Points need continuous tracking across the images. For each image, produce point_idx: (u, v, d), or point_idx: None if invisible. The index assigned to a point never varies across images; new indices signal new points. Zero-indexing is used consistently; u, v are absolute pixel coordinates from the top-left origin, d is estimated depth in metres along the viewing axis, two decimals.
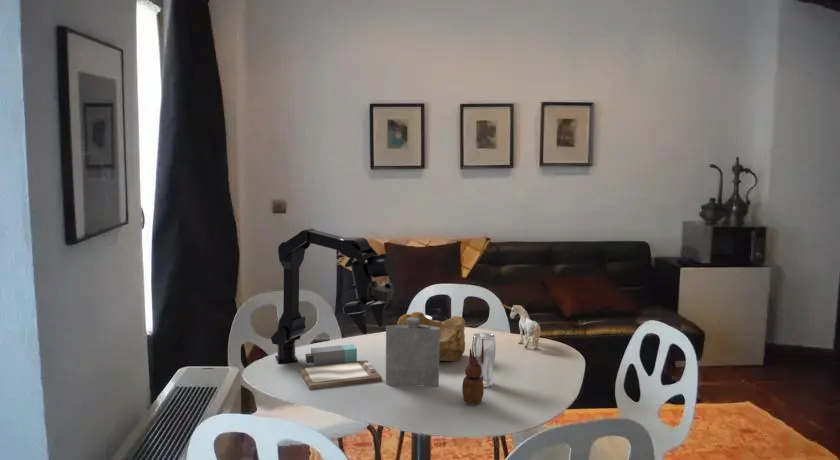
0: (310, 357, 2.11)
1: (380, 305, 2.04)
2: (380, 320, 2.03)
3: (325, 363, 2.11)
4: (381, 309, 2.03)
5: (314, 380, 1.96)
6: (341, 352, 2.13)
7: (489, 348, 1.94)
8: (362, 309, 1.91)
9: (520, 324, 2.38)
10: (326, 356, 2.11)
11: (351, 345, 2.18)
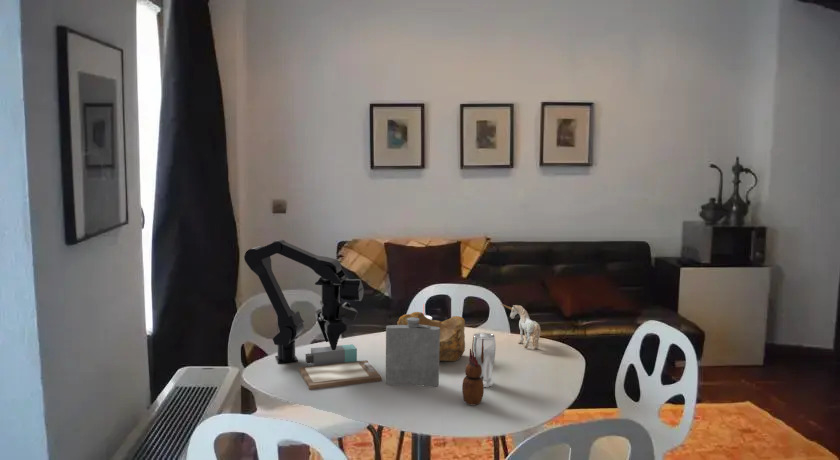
0: (310, 357, 2.11)
1: None
2: None
3: (325, 363, 2.11)
4: None
5: (314, 380, 1.96)
6: (341, 352, 2.13)
7: (489, 348, 1.94)
8: None
9: (520, 324, 2.38)
10: (326, 356, 2.11)
11: (351, 345, 2.18)
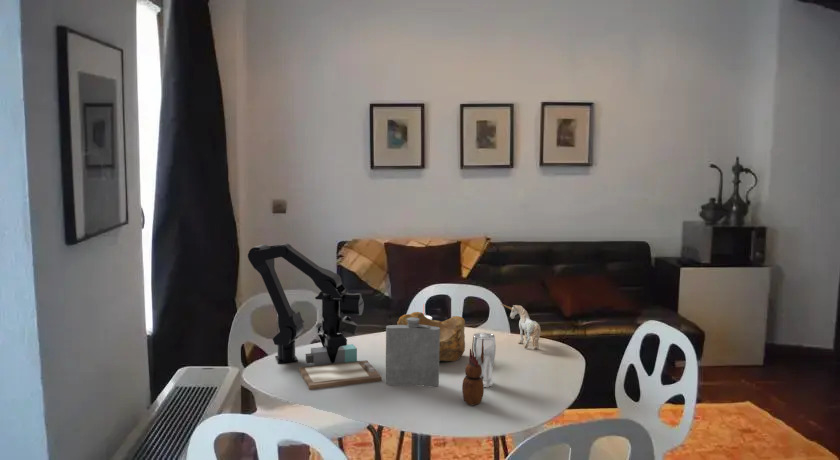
0: (310, 357, 2.11)
1: None
2: None
3: (325, 363, 2.11)
4: None
5: (314, 380, 1.96)
6: (341, 352, 2.13)
7: (489, 348, 1.94)
8: None
9: (520, 324, 2.38)
10: (326, 356, 2.11)
11: (351, 345, 2.18)
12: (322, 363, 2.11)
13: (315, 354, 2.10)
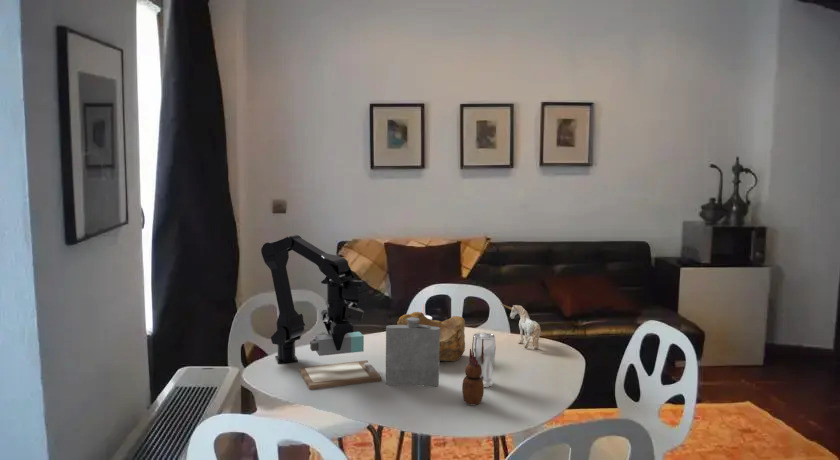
0: (315, 344, 2.03)
1: None
2: None
3: (331, 351, 2.03)
4: None
5: (314, 380, 1.96)
6: (347, 339, 2.05)
7: (489, 348, 1.94)
8: None
9: (520, 324, 2.38)
10: (332, 344, 2.03)
11: (357, 332, 2.10)
12: (327, 351, 2.03)
13: (320, 341, 2.02)
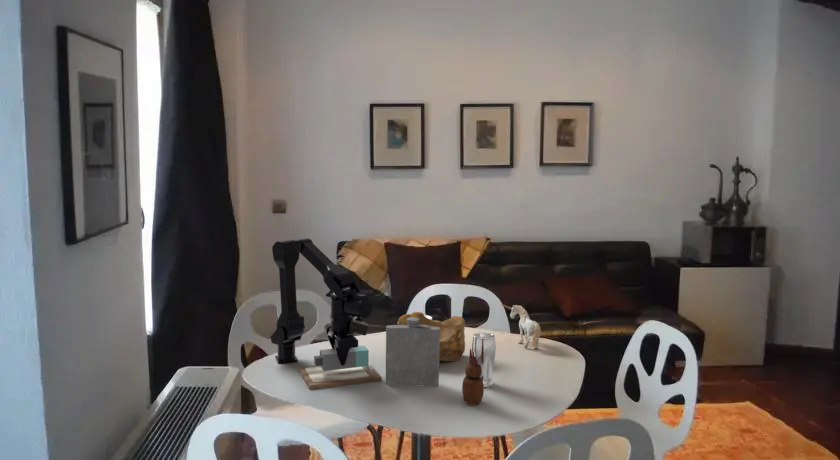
0: (319, 359, 1.98)
1: None
2: None
3: (335, 366, 1.99)
4: None
5: (314, 380, 1.96)
6: (352, 354, 2.00)
7: (489, 348, 1.94)
8: None
9: (520, 324, 2.38)
10: (336, 358, 1.99)
11: (362, 346, 2.05)
12: (332, 366, 1.99)
13: (324, 356, 1.97)
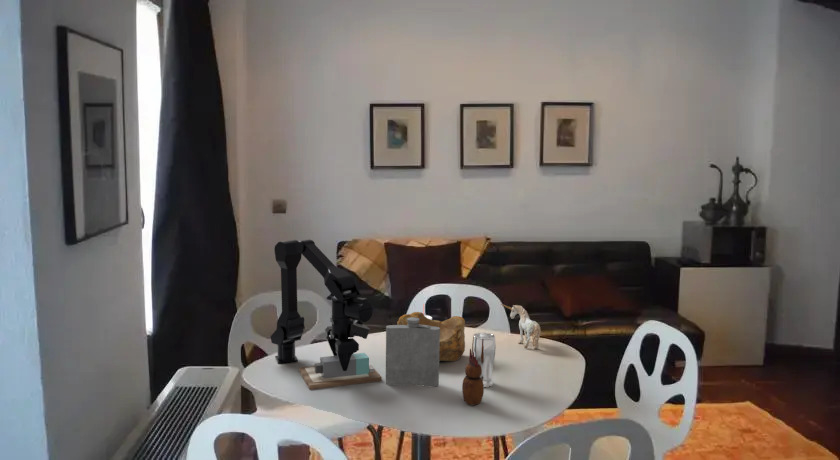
0: (319, 367, 1.98)
1: None
2: None
3: (335, 373, 1.98)
4: None
5: (314, 380, 1.96)
6: (352, 361, 2.00)
7: (489, 348, 1.94)
8: None
9: (520, 324, 2.38)
10: (336, 366, 1.98)
11: (363, 354, 2.05)
12: (332, 373, 1.98)
13: (325, 364, 1.97)
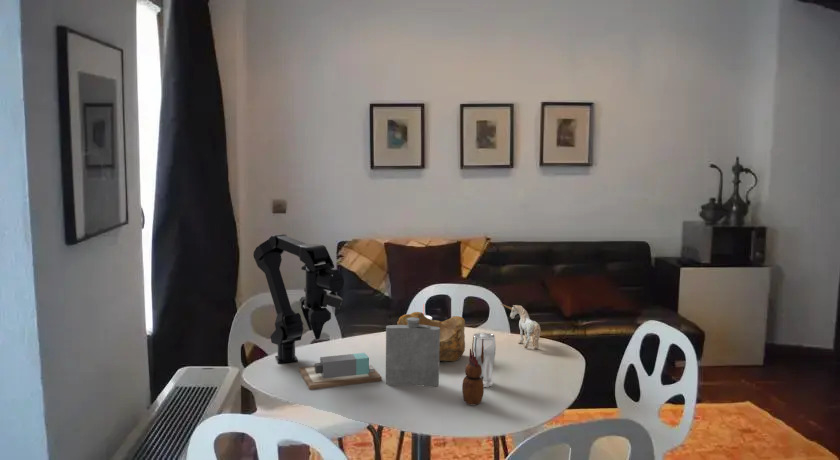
0: (319, 367, 1.98)
1: None
2: None
3: (335, 373, 1.98)
4: None
5: (314, 380, 1.96)
6: (352, 361, 2.00)
7: (489, 348, 1.94)
8: None
9: (520, 324, 2.38)
10: (336, 366, 1.98)
11: (363, 354, 2.05)
12: (332, 373, 1.98)
13: (325, 364, 1.97)
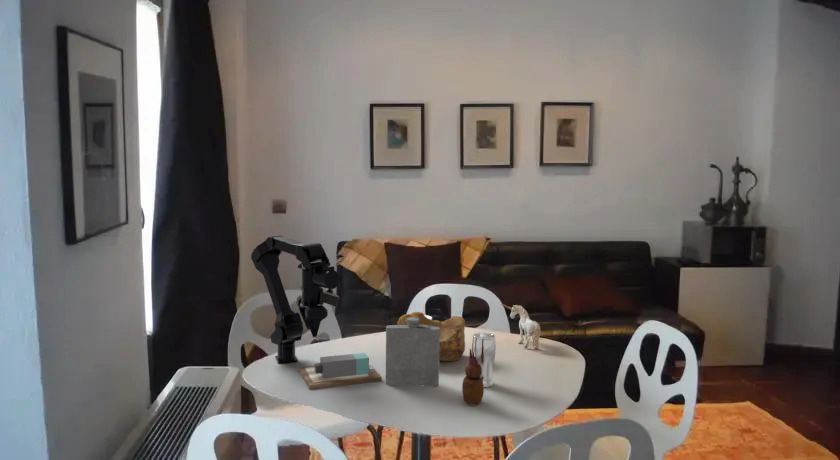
0: (319, 367, 1.98)
1: None
2: None
3: (335, 373, 1.98)
4: None
5: (314, 380, 1.96)
6: (352, 361, 2.00)
7: (489, 348, 1.94)
8: None
9: (520, 324, 2.38)
10: (336, 366, 1.98)
11: (363, 354, 2.05)
12: (332, 373, 1.98)
13: (325, 364, 1.97)
